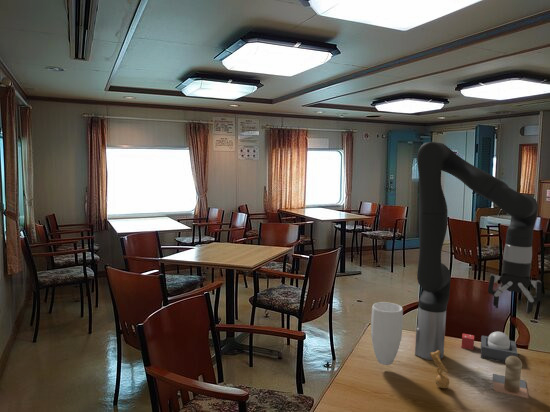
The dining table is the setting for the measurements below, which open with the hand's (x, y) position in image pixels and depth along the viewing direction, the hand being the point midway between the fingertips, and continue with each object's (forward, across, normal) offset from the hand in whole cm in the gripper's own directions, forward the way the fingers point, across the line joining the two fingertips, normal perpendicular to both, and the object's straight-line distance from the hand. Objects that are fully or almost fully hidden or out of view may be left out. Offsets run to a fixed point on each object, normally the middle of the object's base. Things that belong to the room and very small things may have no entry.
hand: (512, 310), depth 129 cm
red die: (+23, -12, +21) cm, 33 cm away
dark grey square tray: (+23, -2, +19) cm, 30 cm away
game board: (+23, +1, -4) cm, 23 cm away
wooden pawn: (+23, +2, -6) cm, 23 cm away
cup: (+24, -35, -13) cm, 44 cm away
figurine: (+23, -18, -16) cm, 33 cm away
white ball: (+22, -2, +19) cm, 29 cm away
